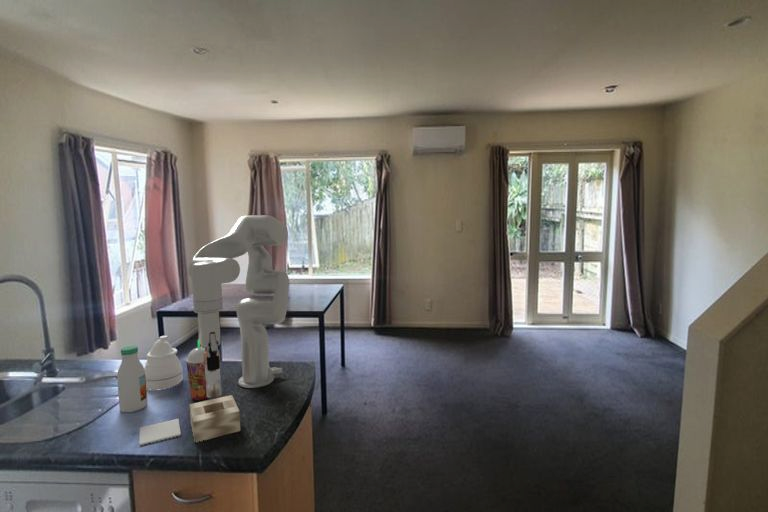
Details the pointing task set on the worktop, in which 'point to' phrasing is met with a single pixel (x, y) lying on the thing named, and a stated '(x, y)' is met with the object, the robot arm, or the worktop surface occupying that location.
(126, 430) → the worktop surface
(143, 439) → the white square plate
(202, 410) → the birch eye block
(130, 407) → the milk bottle
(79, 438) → the worktop surface
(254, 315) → the robot arm
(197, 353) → the smoothie
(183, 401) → the worktop surface
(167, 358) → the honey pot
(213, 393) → the copper capped bottle
